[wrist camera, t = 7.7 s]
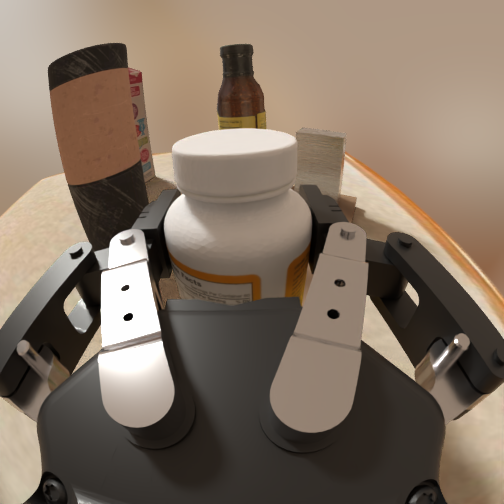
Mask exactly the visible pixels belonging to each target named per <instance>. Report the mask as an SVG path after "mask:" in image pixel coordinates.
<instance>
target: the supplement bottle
mask: <svg viewBox="0 0 504 504" xmlns="http://www.w3.org/2000/svg"><path fill="white" fill-rule="evenodd" d="M297 144H298V143H297V140H296V139H295V137H293V136H291V135H289V134H287V133H283V132H279V131H273V130H267V129H255V128H239V129H224V130H216V131H210V132H205V133H201V134H197V135H193V136H190V137H187V138H184V139H182V140H180V141H178V142H176V143H175V144H174V145H173V147H172V158H173V169H174V180H175V182H176V183H177V189H178V190H179V191H180V192H181V193H182V195H181V196H179V197H178V198H177V199H176V200H175V201H174V202H173V203H172V205H171V206H170V208H169V209H168V212H167V214H166V217H165V221H164V233H165V239H166V246H167V250H168V253H169V258H170V261H171V265H172V268H173V272H174V276H175V279H176V283H177V287H178V290H179V295H180V298H181V299H199V300H204V301H209V302H214V303H220V304H225V305H237V304H242V303H246V302H251V301H255V300H259V299H264V298H277V297H299V299H300V304H301V306H302V301H303V295H304V288H305V282H306V275H307V268H308V261H309V254H310V246H311V237H312V215H311V212H310V209H309V207H308V205H307V203H306V202H305V200H304V199H303V198H302V197H301V196H300V195H299V194H298V193H297V192H295V191H294V190H292V189H291V188H292V187H293V185H294V184H295V181H296V175H297Z"/></svg>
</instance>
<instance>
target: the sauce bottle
mask: <svg viewBox="0 0 504 504" xmlns="http://www.w3.org/2000/svg"><path fill="white" fill-rule="evenodd" d="M252 55H253V46H252V45H251V44H235V45H226V46H222V47H221V48H220V56H221V58H222V60H223V61H222V62H223V81H222V85H221V88H220V90H219V94H218V103H217V115H218V124H219V130H224V129H239V128H255V129H266V114H265V109H264V95H263V92H262V90H261V88H260V85H259V84H258V83H257V82H256V81H255V79H254V77H253V74H254V71H253V66H252Z"/></svg>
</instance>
